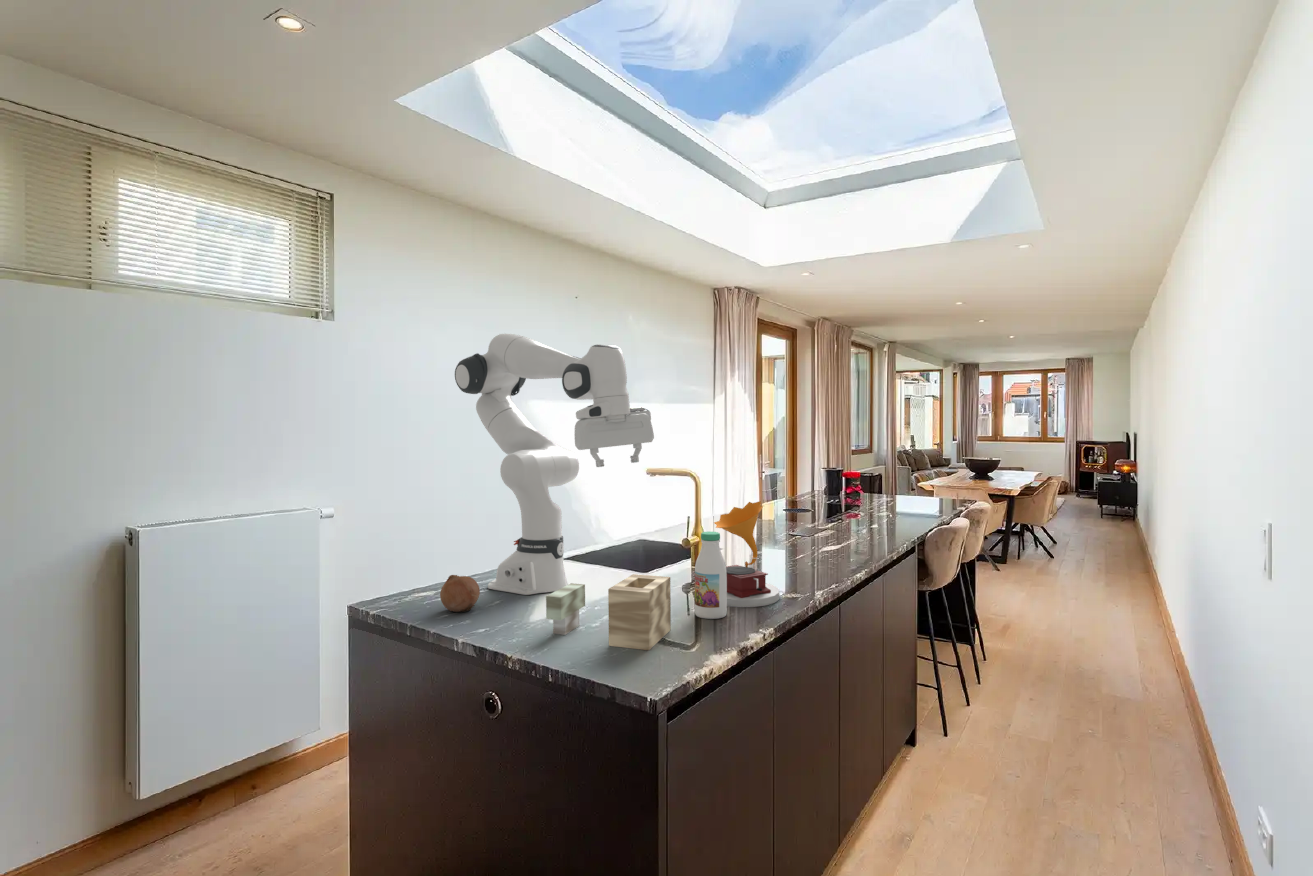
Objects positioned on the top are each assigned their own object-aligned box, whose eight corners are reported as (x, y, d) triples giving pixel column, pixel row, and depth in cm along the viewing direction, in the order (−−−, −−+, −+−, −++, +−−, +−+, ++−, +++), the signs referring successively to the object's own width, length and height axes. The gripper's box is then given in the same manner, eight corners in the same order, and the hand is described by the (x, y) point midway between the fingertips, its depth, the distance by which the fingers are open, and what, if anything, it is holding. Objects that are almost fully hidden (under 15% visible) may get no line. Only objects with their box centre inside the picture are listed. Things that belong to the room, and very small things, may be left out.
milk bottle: (709, 608, 171) (708, 528, 170) (733, 615, 165) (733, 532, 165) (688, 615, 166) (687, 532, 165) (712, 622, 160) (712, 536, 159)
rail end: (561, 638, 149) (560, 597, 149) (546, 636, 150) (546, 596, 150) (585, 622, 160) (584, 584, 160) (571, 621, 161) (571, 583, 161)
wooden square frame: (649, 650, 141) (648, 592, 141) (608, 645, 144) (608, 589, 144) (670, 630, 154) (670, 577, 154) (633, 626, 157) (633, 574, 157)
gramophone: (745, 583, 196) (745, 496, 196) (796, 599, 179) (796, 504, 178) (686, 593, 185) (686, 501, 185) (734, 612, 168) (734, 510, 167)
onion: (445, 623, 171) (427, 587, 171) (476, 605, 177) (459, 570, 177) (460, 617, 164) (442, 579, 164) (492, 599, 170) (474, 562, 171)
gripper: (644, 406, 177) (649, 460, 177) (569, 413, 168) (575, 469, 168) (655, 404, 171) (660, 459, 172) (578, 411, 162) (584, 469, 162)
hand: (617, 464), depth 170 cm, fingers open, 8 cm apart
